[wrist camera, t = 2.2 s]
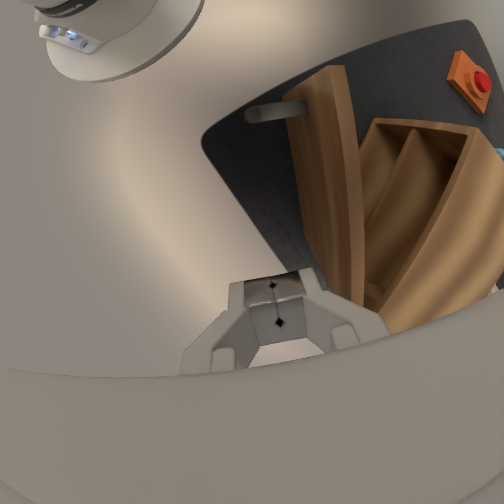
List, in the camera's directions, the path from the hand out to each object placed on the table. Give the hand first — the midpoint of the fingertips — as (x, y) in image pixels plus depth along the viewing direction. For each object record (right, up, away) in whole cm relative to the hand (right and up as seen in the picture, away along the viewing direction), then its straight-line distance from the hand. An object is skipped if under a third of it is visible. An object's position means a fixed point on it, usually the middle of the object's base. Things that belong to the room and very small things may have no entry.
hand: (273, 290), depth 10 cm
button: (+40, +32, +17) cm, 53 cm away
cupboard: (+21, +10, +31) cm, 38 cm away
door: (+3, +13, +28) cm, 31 cm away
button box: (+39, +33, +20) cm, 55 cm away
